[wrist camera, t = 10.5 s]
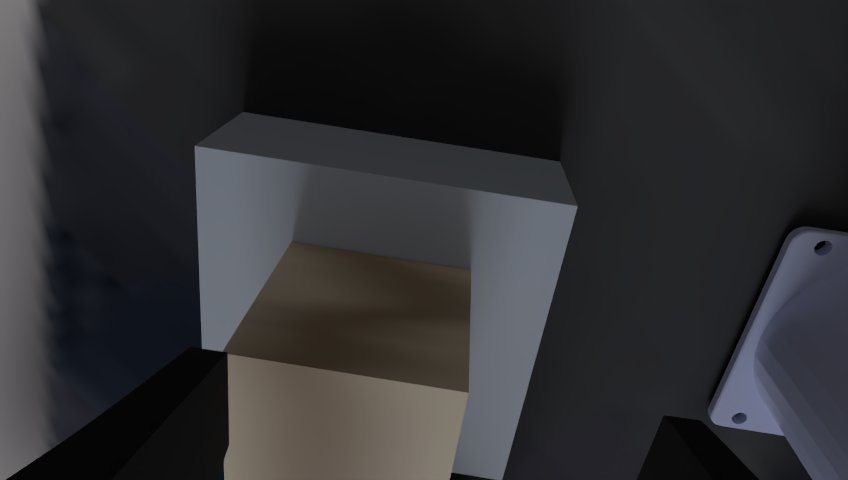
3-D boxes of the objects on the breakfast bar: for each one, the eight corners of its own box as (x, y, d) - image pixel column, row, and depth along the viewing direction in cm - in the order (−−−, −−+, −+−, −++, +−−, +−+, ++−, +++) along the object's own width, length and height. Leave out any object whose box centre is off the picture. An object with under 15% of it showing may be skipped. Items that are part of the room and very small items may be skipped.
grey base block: (558, 157, 19) (577, 206, 15) (497, 398, 23) (502, 480, 20) (247, 108, 19) (194, 145, 15) (246, 358, 23) (205, 432, 20)
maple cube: (471, 270, 16) (468, 392, 12) (443, 408, 19) (433, 554, 14) (291, 241, 16) (221, 353, 12) (285, 382, 19) (225, 520, 14)
